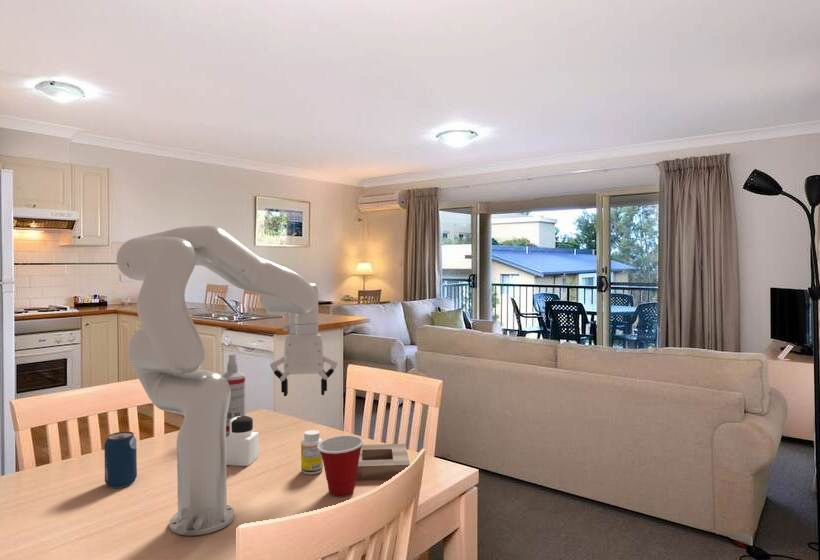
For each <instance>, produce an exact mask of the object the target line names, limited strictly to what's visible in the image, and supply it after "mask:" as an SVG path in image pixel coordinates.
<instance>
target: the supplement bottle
mask: <svg viewBox="0 0 820 560" xmlns="http://www.w3.org/2000/svg"><path fill="white" fill-rule="evenodd" d="M320 436H321V434H320V431H319V430H314V429H310V430H306V431H304V432H303V439H301V442H300V458H301V463H300V464H301V465H300V467H301V472H302V473H303V474H304V475H317V474H319V473H321V472H322V471H323V469H324V463H323V459H322V455H321V453H320V451H319V450H318V448H317V446H318V444H319V443H320V442H321V441H323V439H322V438H321V437H320Z"/></svg>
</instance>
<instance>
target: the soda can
mask: <svg viewBox="0 0 820 560" xmlns="http://www.w3.org/2000/svg"><path fill="white" fill-rule="evenodd" d="M134 434H135V433H134V432H133V431H117V432H113V433H111V434H108V435H107V436H106V438H107V439H106V440H105V442H104V448H103V449H104V451H103V452H104V483H105V485H106V486H107V487H108V488H110V487H111V488H110V489H121V488H120V487H122V488H126V487H129V486H131V485H133V484H134V482H135V481H136V478H137V477H138V465H137V464H138V463H137V462H138V460H137V458H138V456H137V454H138V453H137V450H138V449H137V439H136V437H135V435H134ZM128 485H129V486H128ZM125 486H126V487H125Z"/></svg>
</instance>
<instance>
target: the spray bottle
mask: <svg viewBox="0 0 820 560" xmlns="http://www.w3.org/2000/svg"><path fill="white" fill-rule="evenodd" d="M226 368H227V369H226V372H225V373H223V374H221V375H222V376H223V377H224V378H225V379H226V380H227V381H228V383H229V385H230V389H231V396H230V403H229V408H228V413H227V421H226V435H230V420H231V419H232V418H234V417H238V416H247V415H246V410H247V409H246V373H243V372H241V371H239V365H238V361H237V353H231V354H228V361H227V367H226Z"/></svg>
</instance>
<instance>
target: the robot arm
mask: <svg viewBox="0 0 820 560" xmlns="http://www.w3.org/2000/svg"><path fill="white" fill-rule="evenodd" d="M115 260H116V265H117V267H118V270H119V271H120V272H121V273H122V275H124V276H125V277H126V278H128V279H131V280H133V281H134V280H135V281H142V284H141V287H140V289H139V293H138V296H137V301H136V311H137V315H138V318H139V321H140V323H141V326H142V327H140V328H139V329H137V330H136V331H135V332H134V333H133V335H131V338H130V340H129V343H128V348H127V349H128V351H127V353H128V359H129V362H130V365H131V367H132V369H133V370H134V373H135V374H136V377H137V378H138V381H139V382H140V384H141V385H142V388H143V389H144V392H145V393H146V395H147V397H148V399H149V400H150V402H151V403H152V404H153V405H154V407H156V408H158V409H159V410H161V411H164V412H166V413H167V412H168V413H173V414H179V415H182V416H184V419H183V421H182V424H181V426H180V428H179V431H178V433H177V437H176V438H177V439H176V453H177V454H176V456H177V457H176V458H177V460H176V461H177V464H176V466H177V467H176V468H177V475H176V476H177V512H176V513H174V514H173V515H172V517H171V518H170V519H169V529H170V530H171V531H172V532H173V533H175V534H177V535H178V536H179V535H180V536H181V535H182V536H187V537H189V536H190V537H191V536H193V537H194V536H201V535H208V534H211V533H214V532H217V531H219V530H222V529H224V528H225V527H227V526H229V525H230V524H231V523H232V522H233V521H234V519H235V509H234V508H233V507H232V506H230V505H228V504H227V502H228V501H227V499H228V498H227V491H228V490H227V465H226V437H227V434H226V421H227V413H228V408H229V403H230V396H231V389H230V385H229V383H228V381H227V380H226V379H225V378H224V377H223V376H222V374H220V373H218V372H215V371H213V370H208V369H201V367H202V366H203V364H204V362H205V360H206V349H205V346H204V343H203V340H202V338H201V336H200V334H199V331H198V329H197V328H196V325H195V323H194V321H193V319H192V316H191V314H190V311H189V309H188V306H187V303H186V298H185V294H186V288H187V285H188V282H189V280H190V278H191V276H192V273H193V272H194V269H195V266H202V267H204V268H206V269H208V270H210V271H211V272H212V273H214V274H216V275H217V276H219V277H220V278H222V279H224V280H225V281H226V282H228V283H229V284H230V285H232V286H234V287H236V288H238V289H241V290H244V291H248V292H252V293H258V294H260V295H259V302H260V305H261V306H262V308H263V309H265V310H266V311H268V312H271V313H276V314H288V324H287V325H283V331H284V332H285V331H286V332H287V333H288V334H287V335H286V336H285V339H284V347H283V348H284V349H283V357H281V358H279V359H277V360H275V361H273V362H271V363H270V364H269V366H270V368H271V370H272V372H273V373H274V375H275V376H276V377H277V378H278V379H279V380H280V382H281V383H280V384H281V385H280V386H281V387H280V388H281V389H280V391H281V393H283V397H287V396H288V393H289V381H288V380H289V379H288V376H290V375H316V374H317V375H319V376H320V377H321V380H320V387H321V388H320V389H321V390H320V392H321V393H320V394H321V396H325V393H326V392H327V391H328V378H330V376H332V375H333V374H334V373H335V372H334V371H335V370H336V367H337V366H338V361H336V360H334V359H332V358H330V357H328V356H326V355H324V345H323V339H322V334H321V333H319V287H318V285H317V284H316V283H313V282H308V281H307V279H305V278H304V277H302V276H301V275H300V274H298V272H297V273H296V272H295V271H293V270H291V269H290V268H287V267H285V266H282V265H279V264H277V263H275V262H273V261H270V260H269V259H265V258H262V257H260V256H258V255H257V254H255V253H254V252H253V251H251V250H250V249H249V248H248V247H246V246H245V245H244V244H242V242H240V241H238V239H236V238H234V237H233V236H232V235H231V234H230V233H228V232H227V231H225V230H224V229H222V228H221V227H218V226H215V225H195V226H194V225H193V226H191V225H190V226H182V227H178V228H173V229H168V230H165V231H159V232H156V233H152V234H147V235H142V236H139V237H138V236H137V237H133V238H130V239H129V240H127V241H125V242H124V243H123V244H122V245H121V246H120V247H119V249H118V251H117V253H116V259H115ZM324 362H325V363H326V364H329V365H330V368H329V369H328V370H327V371H325V370H324V365H325V363H324ZM281 364H283V371H284V372H282V371H281V370H279V368H278V366H281Z"/></svg>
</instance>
